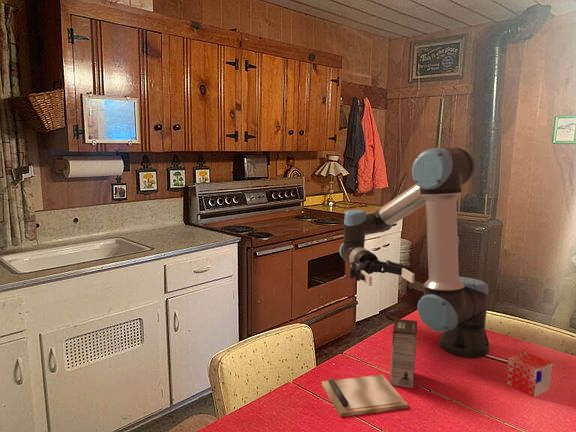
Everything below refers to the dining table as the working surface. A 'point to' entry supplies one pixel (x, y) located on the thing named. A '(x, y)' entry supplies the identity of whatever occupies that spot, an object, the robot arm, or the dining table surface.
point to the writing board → (363, 395)
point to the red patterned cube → (529, 373)
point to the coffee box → (403, 353)
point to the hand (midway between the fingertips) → (392, 280)
